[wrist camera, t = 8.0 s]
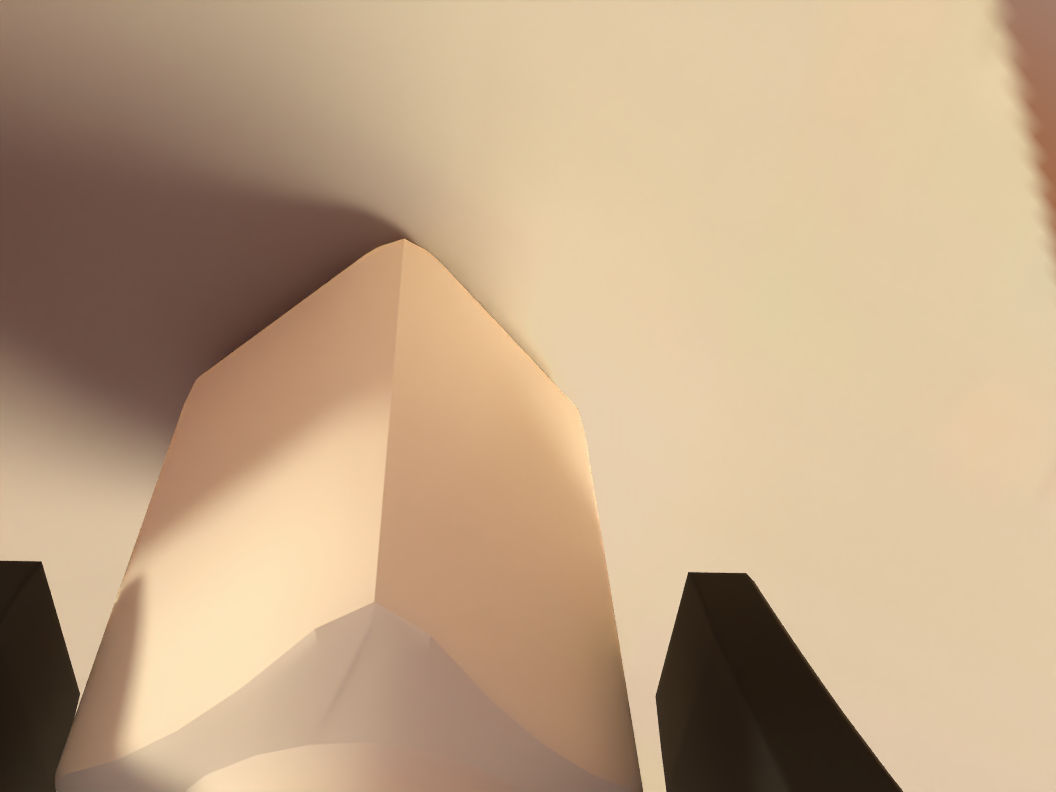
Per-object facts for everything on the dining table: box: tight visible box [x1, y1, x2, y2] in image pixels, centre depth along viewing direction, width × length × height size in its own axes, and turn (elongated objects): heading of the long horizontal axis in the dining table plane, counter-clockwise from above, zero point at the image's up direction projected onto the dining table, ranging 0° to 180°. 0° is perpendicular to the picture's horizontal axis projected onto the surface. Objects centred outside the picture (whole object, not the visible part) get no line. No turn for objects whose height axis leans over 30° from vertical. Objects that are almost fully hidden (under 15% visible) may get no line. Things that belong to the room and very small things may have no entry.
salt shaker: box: [55, 239, 643, 792], centre depth 10 cm, size 4×4×10 cm
